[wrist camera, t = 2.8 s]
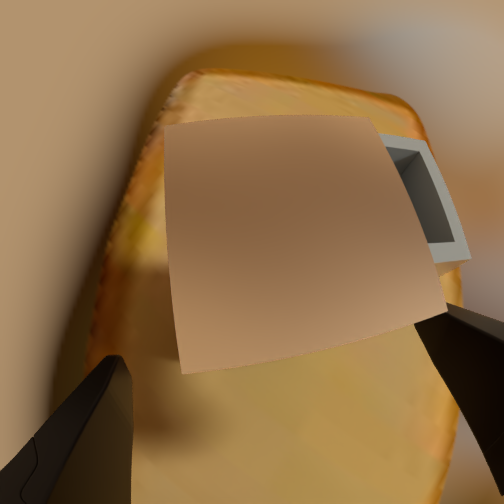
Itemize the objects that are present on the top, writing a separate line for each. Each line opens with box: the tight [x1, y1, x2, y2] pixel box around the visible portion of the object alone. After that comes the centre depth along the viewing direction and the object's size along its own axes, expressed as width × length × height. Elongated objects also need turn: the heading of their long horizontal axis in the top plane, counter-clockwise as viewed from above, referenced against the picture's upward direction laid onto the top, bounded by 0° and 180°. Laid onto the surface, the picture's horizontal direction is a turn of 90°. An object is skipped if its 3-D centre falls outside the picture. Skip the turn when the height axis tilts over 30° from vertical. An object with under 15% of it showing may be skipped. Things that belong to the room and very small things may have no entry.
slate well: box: [378, 133, 471, 277], centre depth 18 cm, size 9×9×5 cm
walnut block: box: [164, 115, 448, 374], centre depth 11 cm, size 4×4×13 cm
